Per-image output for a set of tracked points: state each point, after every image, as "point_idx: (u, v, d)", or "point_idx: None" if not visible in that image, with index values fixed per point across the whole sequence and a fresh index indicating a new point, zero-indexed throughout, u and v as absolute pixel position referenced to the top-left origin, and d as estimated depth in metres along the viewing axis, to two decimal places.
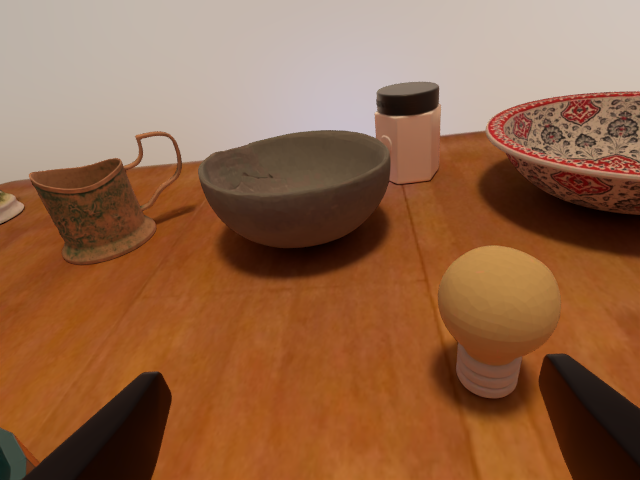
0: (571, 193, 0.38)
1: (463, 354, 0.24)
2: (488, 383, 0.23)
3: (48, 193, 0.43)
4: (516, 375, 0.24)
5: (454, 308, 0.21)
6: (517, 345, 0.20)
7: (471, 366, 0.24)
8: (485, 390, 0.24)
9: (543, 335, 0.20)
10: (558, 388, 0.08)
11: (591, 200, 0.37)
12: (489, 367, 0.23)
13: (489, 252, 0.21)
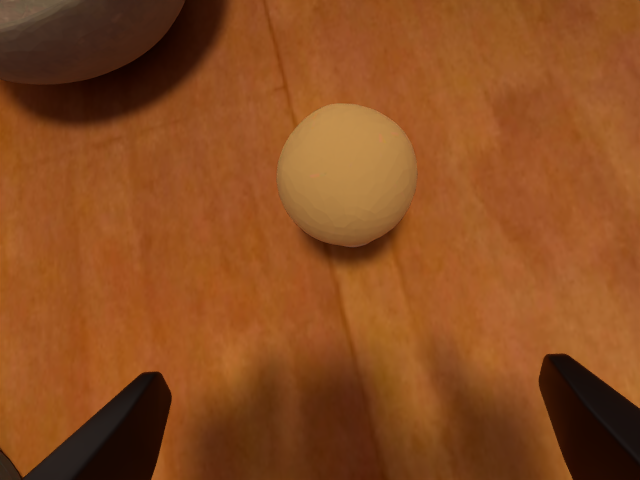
0: None
1: None
2: None
3: None
4: None
5: (294, 215, 0.17)
6: (367, 241, 0.17)
7: None
8: None
9: (395, 223, 0.17)
10: (558, 388, 0.08)
11: None
12: None
13: (325, 137, 0.15)
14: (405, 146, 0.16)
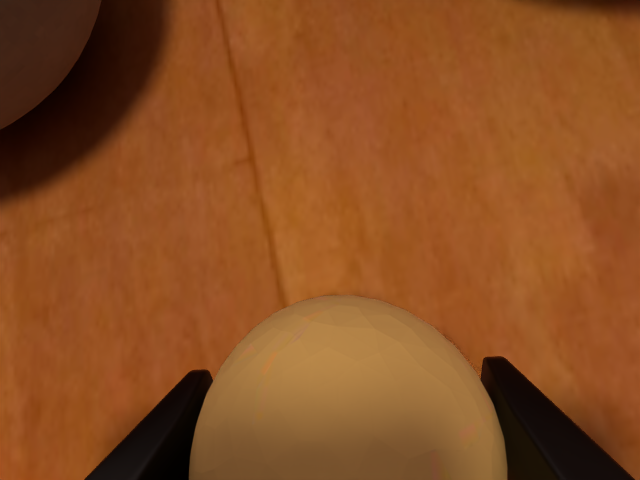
0: None
1: None
2: None
3: None
4: None
5: None
6: None
7: None
8: None
9: None
10: (492, 390, 0.08)
11: None
12: None
13: (289, 466, 0.06)
14: (492, 457, 0.06)
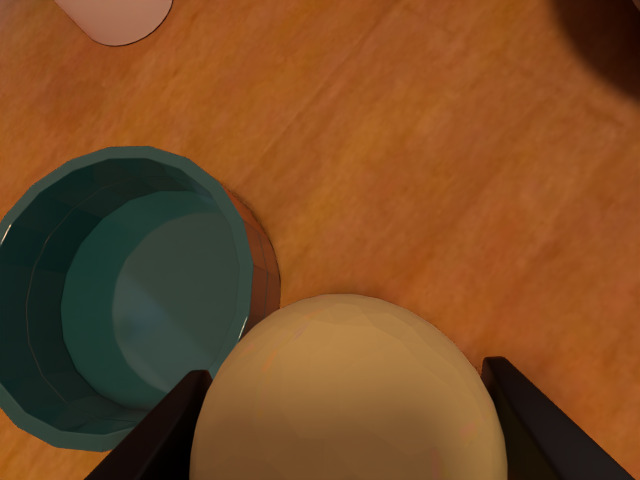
0: None
1: None
2: None
3: None
4: None
5: None
6: None
7: None
8: None
9: None
10: (493, 390, 0.08)
11: None
12: None
13: (290, 463, 0.06)
14: (492, 455, 0.06)
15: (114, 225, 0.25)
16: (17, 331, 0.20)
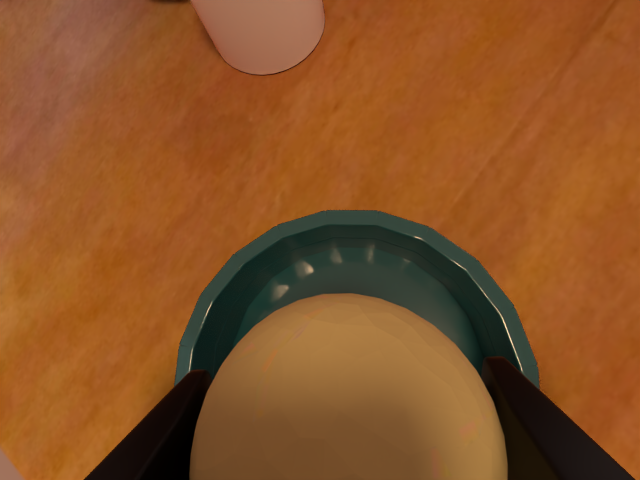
0: None
1: None
2: None
3: None
4: None
5: None
6: None
7: None
8: None
9: None
10: (493, 390, 0.08)
11: None
12: None
13: (290, 463, 0.06)
14: (492, 455, 0.06)
15: (286, 287, 0.21)
16: None
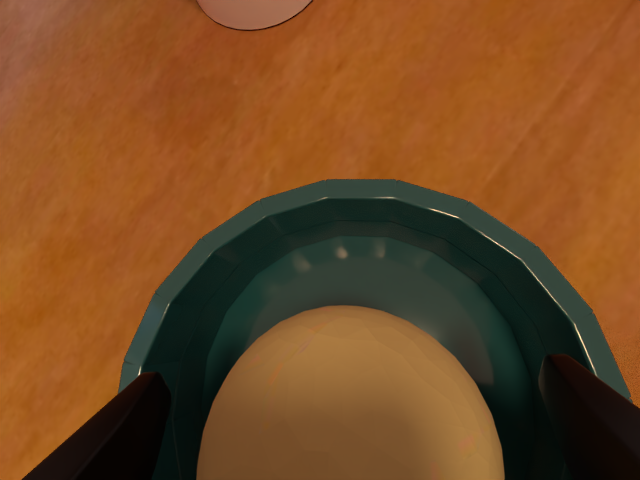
0: None
1: None
2: None
3: None
4: None
5: None
6: None
7: None
8: None
9: None
10: (558, 388, 0.08)
11: None
12: None
13: (295, 474, 0.06)
14: (490, 467, 0.07)
15: (275, 285, 0.17)
16: (170, 472, 0.13)
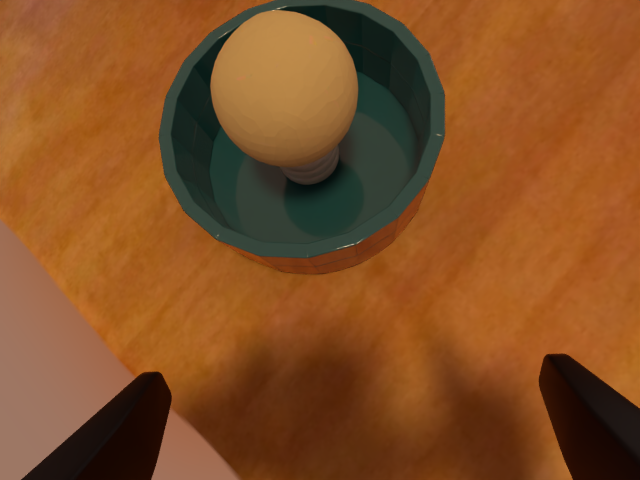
0: None
1: None
2: (303, 176, 0.22)
3: None
4: (332, 159, 0.22)
5: (227, 128, 0.16)
6: (305, 159, 0.17)
7: None
8: (304, 180, 0.22)
9: (332, 140, 0.16)
10: (558, 388, 0.08)
11: None
12: None
13: (253, 38, 0.15)
14: (339, 52, 0.15)
15: None
16: (191, 173, 0.21)
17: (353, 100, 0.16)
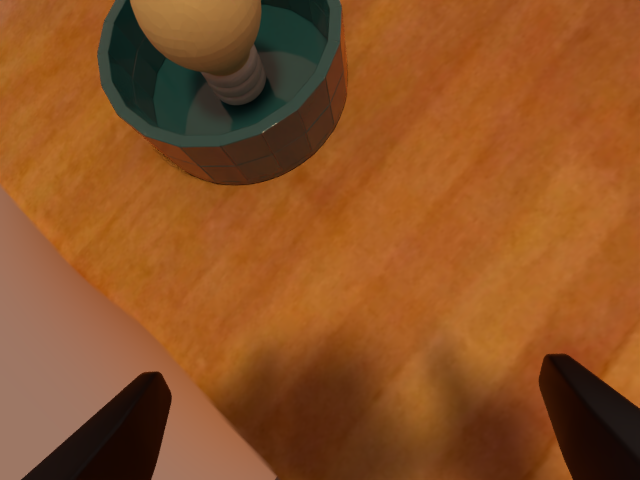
0: None
1: None
2: (230, 93, 0.24)
3: None
4: (255, 78, 0.24)
5: (144, 29, 0.19)
6: (213, 57, 0.19)
7: (209, 81, 0.24)
8: (233, 99, 0.25)
9: (236, 39, 0.19)
10: (558, 388, 0.08)
11: None
12: (222, 78, 0.23)
13: None
14: None
15: None
16: (129, 91, 0.24)
17: (251, 3, 0.19)
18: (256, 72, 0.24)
